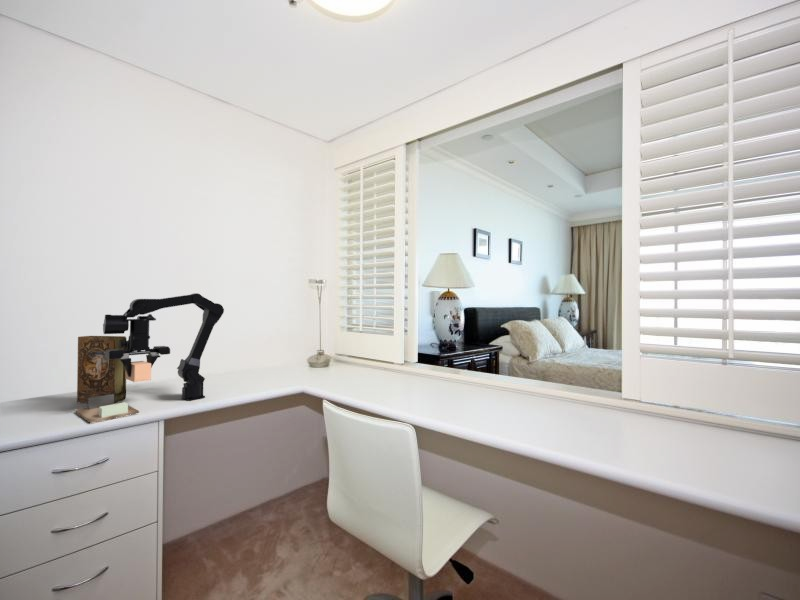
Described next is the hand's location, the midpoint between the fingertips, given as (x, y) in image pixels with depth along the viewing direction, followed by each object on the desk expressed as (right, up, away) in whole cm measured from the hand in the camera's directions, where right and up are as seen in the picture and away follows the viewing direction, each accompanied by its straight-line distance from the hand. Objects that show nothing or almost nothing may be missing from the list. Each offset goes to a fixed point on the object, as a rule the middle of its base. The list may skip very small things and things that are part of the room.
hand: (138, 375), depth 131 cm
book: (-20, -12, +7) cm, 24 cm away
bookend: (-11, -10, -3) cm, 16 cm away
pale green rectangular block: (0, -11, -12) cm, 16 cm away
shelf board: (-5, -11, -7) cm, 15 cm away
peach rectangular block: (0, -1, 0) cm, 1 cm away
